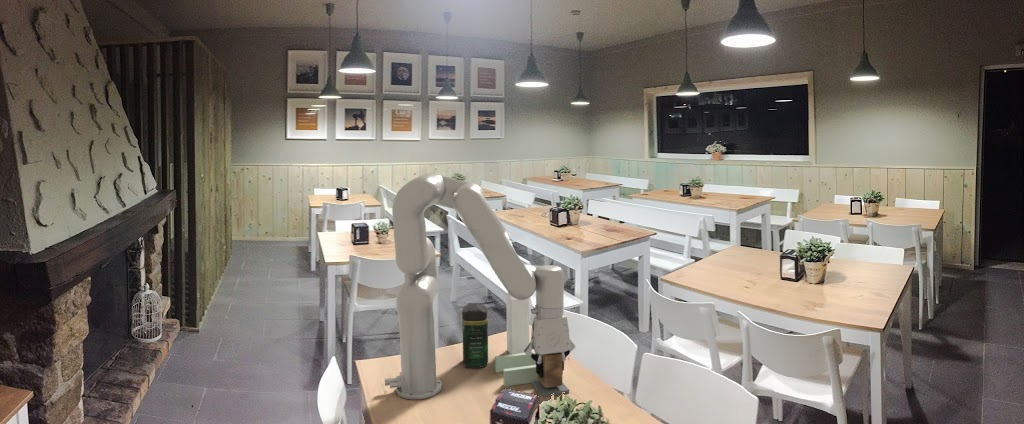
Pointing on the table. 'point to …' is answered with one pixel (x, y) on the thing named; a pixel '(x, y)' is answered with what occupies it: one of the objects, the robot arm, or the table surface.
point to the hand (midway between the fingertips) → (550, 373)
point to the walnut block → (551, 370)
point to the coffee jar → (475, 335)
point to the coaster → (549, 389)
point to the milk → (517, 324)
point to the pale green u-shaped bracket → (516, 368)
